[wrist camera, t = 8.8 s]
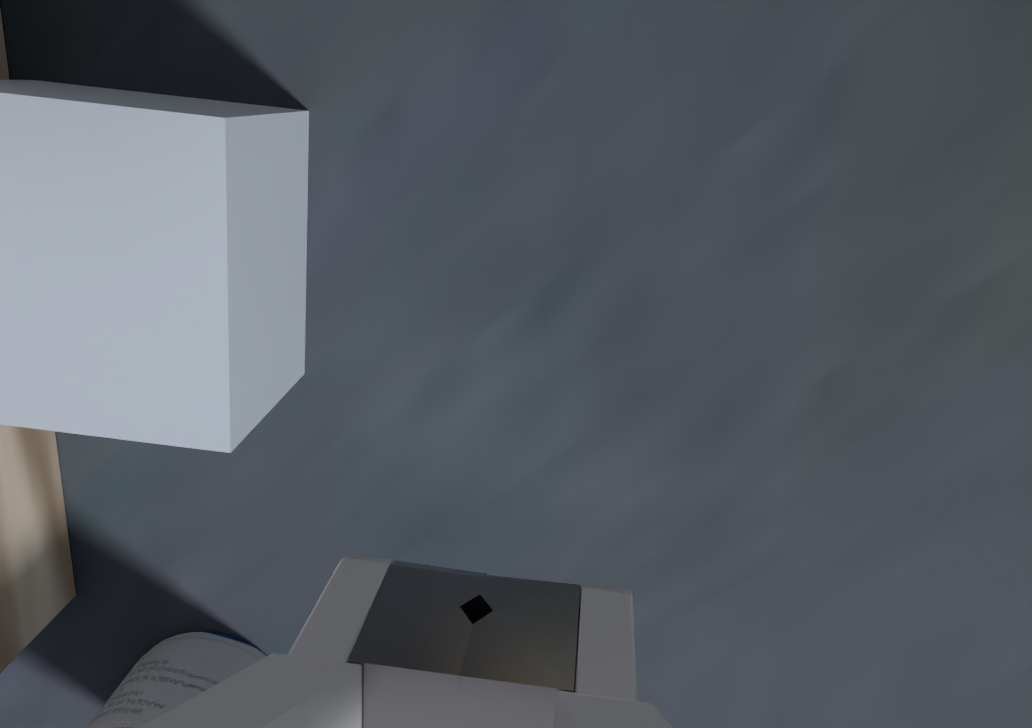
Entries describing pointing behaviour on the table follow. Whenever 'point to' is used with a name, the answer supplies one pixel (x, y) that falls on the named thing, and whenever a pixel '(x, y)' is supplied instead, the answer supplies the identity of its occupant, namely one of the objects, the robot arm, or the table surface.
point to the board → (30, 526)
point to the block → (149, 262)
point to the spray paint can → (174, 677)
